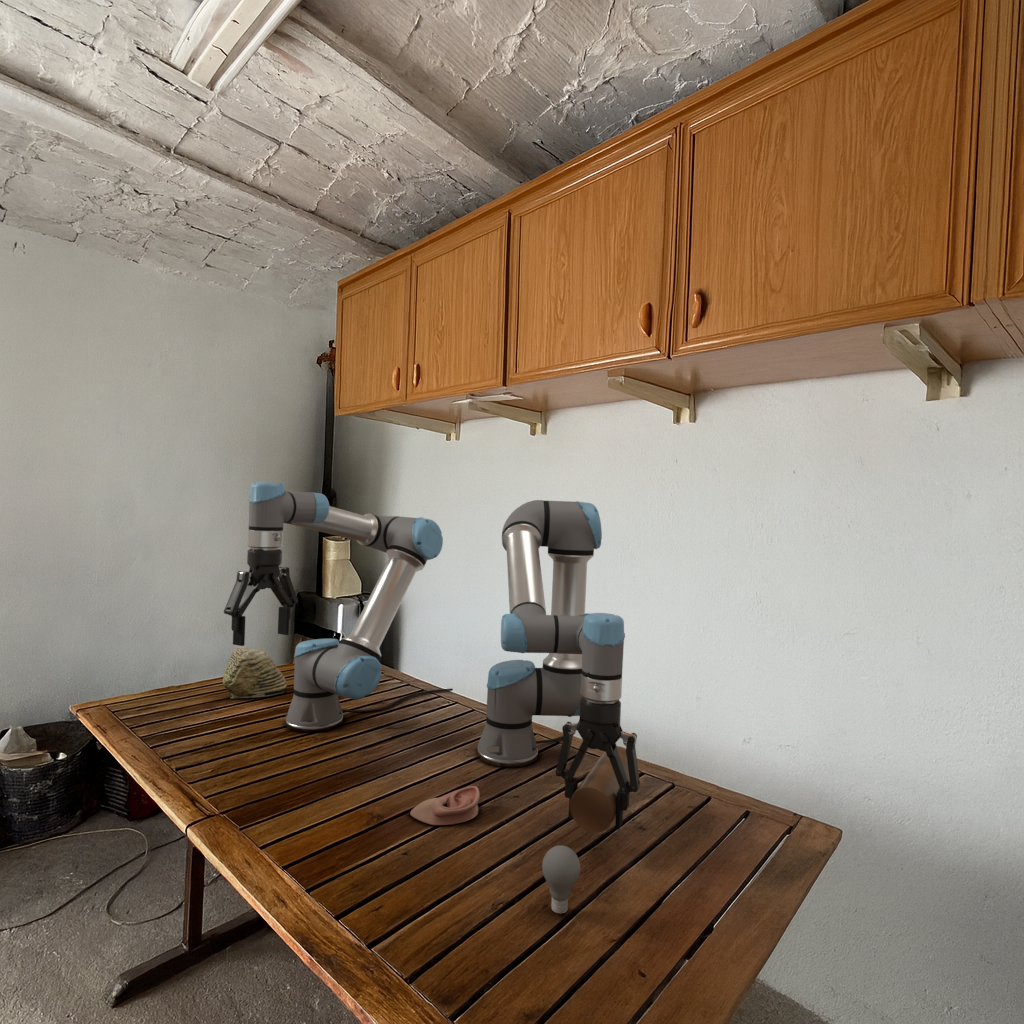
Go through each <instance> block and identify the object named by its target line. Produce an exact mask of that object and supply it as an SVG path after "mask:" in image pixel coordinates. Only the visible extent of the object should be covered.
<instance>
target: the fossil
mask: <svg viewBox="0 0 1024 1024" xmlns="http://www.w3.org/2000/svg"><path fill="white" fill-rule="evenodd" d="M222 676H223V677H222V685H223V687H224V688H225V690H226V691H228V693H229V698H230V699H250V698H264V697H271V696H275V695H281V694H284V693H285V691H286V689H287V687H288V686H287V680H286V678H285V676H284V674H283V673H282V672H281V669H279V668H278V667H277V665H276V663H275V662H274V660H273V659H272V658H271V657H270V656H269V655H268V654H267V653H266V652H265V650H264V649H263V648H260V647H258V648H251V647H247V646H246V647H245V646H238V647H237V648H236V649H235V650H233V651H232V653H231V656H230V657H229V659H228V660H227V663H226V666H225V668H224V671H223V675H222Z"/></svg>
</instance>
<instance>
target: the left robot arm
mask: <svg viewBox="0 0 1024 1024" xmlns="http://www.w3.org/2000/svg"><path fill="white" fill-rule="evenodd" d="M284 524H288V525H292V526H296V527H300V528H304V529H308V530H312V531H316V532H319V533H325V534H330V535H333V536H338V537H341V538H346V539H350V540H354V541H356V542H357V543H358V544H359V545H361V546H364V547H368V548H371V549H374V550H378V551H380V552H383V553H385V554H386V555H387V557H388V559H387V562H386V563H385V566H384V568H383V569H382V571H381V573H380V575H379V578H378V579H377V581H376V583H375V584H374V585H375V586H374V587H373V589H372V591H371V593H370V595H369V598H368V599H367V601H366V602H365V605H364V607H363V609H362V611H361V613H360V615H359V617H358V619H357V621H356V623H355V625H354V627H353V628H352V631H351V633H350V634H349V635H348V636H344V637H342V638H341V640H340V641H339V639H337V638H317V639H316V638H315V639H308V640H304V641H300V642H299V643H298V644H297V645H296V646H295V650H294V655H293V657H294V672H293V673H294V674H293V695H292V696H293V697H292V699H291V702H290V704H289V708H288V711H287V712H285V726H286V728H287V729H289V730H291V731H294V732H295V731H296V732H301V733H316V732H325V731H329V730H332V729H335V728H337V727H339V726H340V725H342V723H343V722H344V714H343V713H351V714H352V713H355V714H357V713H358V714H359V713H371V712H377V711H383V710H385V709H388V708H390V707H392V706H394V705H395V704H397V703H400V702H402V701H404V700H407V699H409V698H412V697H415V696H419V695H425V694H431V693H439V692H440V693H441V692H453V691H454V690H453V689H454V688H439V689H438V688H437V689H431V690H423V691H419V692H415V693H411V694H408V695H405V696H403V697H401V698H398V699H396V700H394V701H392V702H390V703H389V704H387V705H384V706H381V707H375V708H369V709H367V708H366V709H347V708H342V706H341V702H340V699H339V697H340V698H343V699H350V700H356V701H357V700H362V699H364V698H367V697H368V696H369V695H371V694H372V693H373V692H374V691H375V690H376V688H377V687H378V685H379V683H380V681H381V678H382V665H381V662H380V661H381V658H382V653H381V650H380V647H381V645H382V643H383V641H384V639H385V637H386V635H387V633H388V631H389V629H390V627H391V625H392V622H393V620H394V619H395V616H396V615H397V612H398V610H399V609H400V605H401V604H402V602H403V599H404V598H405V596H406V593H407V591H408V589H409V587H410V585H411V583H412V581H413V579H414V577H415V575H416V573H417V572H419V571H423V569H424V568H425V566H426V565H427V562H428V561H430V560H434V559H435V558H437V557H438V556H439V555H440V554H441V552H442V549H443V544H444V537H443V535H442V534H443V533H442V530H441V527H440V526H439V524H438V523H437V522H436V521H434V520H433V519H431V518H424V517H421V516H420V517H412V516H411V517H410V516H399V515H377V514H373V513H365V514H360V513H356V512H353V511H349V510H346V509H342V508H338V507H336V506H332V505H330V502H329V500H328V497H327V496H326V495H325V494H323V493H320V492H314V491H312V492H310V491H309V492H307V491H287V490H286V487H285V484H284V483H283V482H268V481H267V482H266V481H255V482H253V483H251V485H250V490H249V498H248V531H247V532H248V533H247V547H248V548H249V549H248V550H247V555H246V556H247V557H246V559H247V560H246V561H247V562H246V564H247V565H248V566H249V567H248V568H249V569H248V571H245V570H238V571H236V572H237V573H236V579H235V583H234V585H233V588H232V591H231V592H230V594H229V597H228V600H227V601H226V605H225V607H224V609H223V614H225V615H228V616H231V626H230V627H231V631H232V646H233V645H234V646H238V647H245V644H246V643H245V639H246V616H245V615H244V613H245V612H246V610H247V609H248V607H249V605H250V604H251V602H252V600H253V599H254V597H255V596H256V594H257V593H259V592H260V591H261V590H265V589H270V590H271V592H272V593H273V595H274V596H275V597H276V599H277V601H278V602H279V603H280V605H281V606H278V618H277V622H278V623H277V635H283V636H288V635H289V634H290V621H291V618H292V617H291V616H292V615H291V613H292V608H295V606H296V604H298V602H299V600H298V596H297V593H296V591H295V587H294V585H293V582H292V579H291V574H290V567H288V566H281V565H282V564H283V550H282V549H280V548H282V547H283V532H284Z"/></svg>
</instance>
